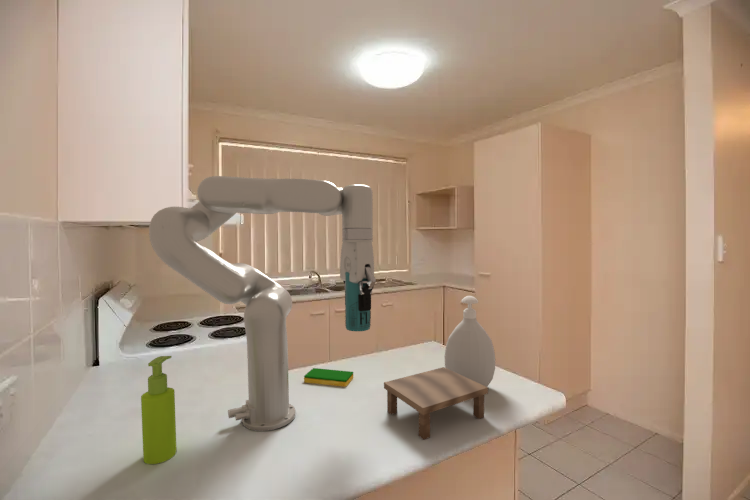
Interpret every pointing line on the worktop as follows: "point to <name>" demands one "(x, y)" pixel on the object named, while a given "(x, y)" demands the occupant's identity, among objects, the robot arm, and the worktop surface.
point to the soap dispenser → (158, 416)
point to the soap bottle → (470, 348)
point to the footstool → (434, 394)
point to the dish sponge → (328, 377)
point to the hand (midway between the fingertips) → (357, 307)
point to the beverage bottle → (355, 308)
